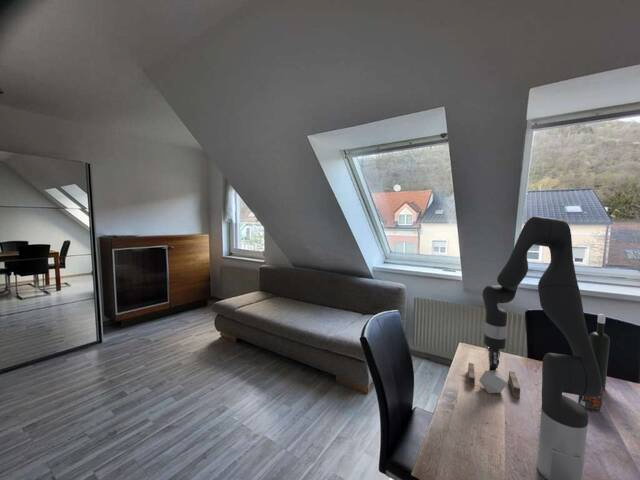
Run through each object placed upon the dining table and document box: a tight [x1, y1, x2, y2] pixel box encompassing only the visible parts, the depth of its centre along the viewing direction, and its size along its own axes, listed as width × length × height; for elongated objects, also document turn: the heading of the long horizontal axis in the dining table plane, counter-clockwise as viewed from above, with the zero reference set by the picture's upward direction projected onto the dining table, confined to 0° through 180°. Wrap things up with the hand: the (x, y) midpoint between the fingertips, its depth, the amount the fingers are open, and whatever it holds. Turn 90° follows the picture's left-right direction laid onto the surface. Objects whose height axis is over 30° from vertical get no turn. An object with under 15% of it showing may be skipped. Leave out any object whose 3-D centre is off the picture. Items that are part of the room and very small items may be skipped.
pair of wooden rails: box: [467, 362, 521, 399], centre depth 116 cm, size 12×17×4 cm
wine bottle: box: [589, 313, 611, 391], centre depth 113 cm, size 6×6×30 cm
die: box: [478, 369, 508, 394], centre depth 111 cm, size 8×9×10 cm
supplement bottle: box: [577, 387, 604, 413], centre depth 101 cm, size 6×6×11 cm
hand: (492, 374), depth 115 cm, fingers closed
